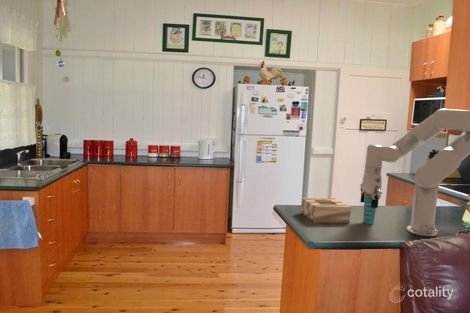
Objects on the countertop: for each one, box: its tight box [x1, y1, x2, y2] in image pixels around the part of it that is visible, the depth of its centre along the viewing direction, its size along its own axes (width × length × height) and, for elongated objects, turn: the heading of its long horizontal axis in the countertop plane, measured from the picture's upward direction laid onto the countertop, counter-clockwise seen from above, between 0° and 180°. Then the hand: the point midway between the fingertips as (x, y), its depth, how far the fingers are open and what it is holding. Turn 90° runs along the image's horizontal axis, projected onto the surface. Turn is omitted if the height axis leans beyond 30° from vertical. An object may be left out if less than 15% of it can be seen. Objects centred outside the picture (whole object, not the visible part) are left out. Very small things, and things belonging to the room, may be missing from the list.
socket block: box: [300, 197, 352, 224], centre depth 190 cm, size 18×18×8 cm
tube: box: [362, 189, 377, 225], centre depth 184 cm, size 7×5×19 cm, turn 60°
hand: (368, 204), depth 184 cm, fingers open, 9 cm apart
